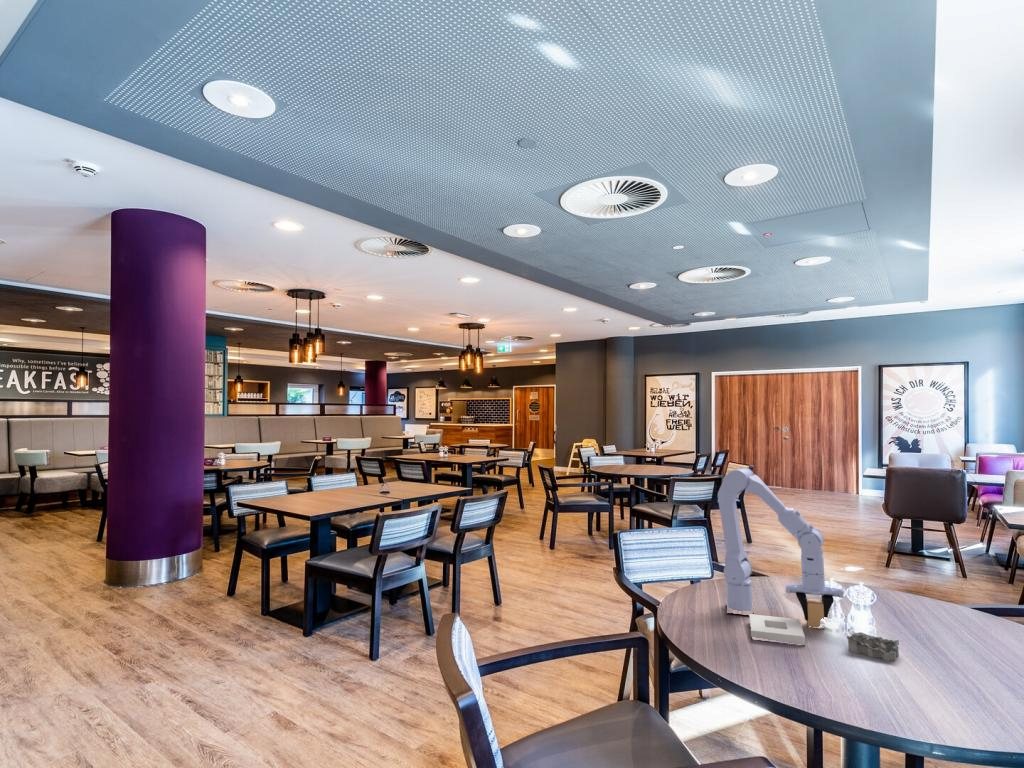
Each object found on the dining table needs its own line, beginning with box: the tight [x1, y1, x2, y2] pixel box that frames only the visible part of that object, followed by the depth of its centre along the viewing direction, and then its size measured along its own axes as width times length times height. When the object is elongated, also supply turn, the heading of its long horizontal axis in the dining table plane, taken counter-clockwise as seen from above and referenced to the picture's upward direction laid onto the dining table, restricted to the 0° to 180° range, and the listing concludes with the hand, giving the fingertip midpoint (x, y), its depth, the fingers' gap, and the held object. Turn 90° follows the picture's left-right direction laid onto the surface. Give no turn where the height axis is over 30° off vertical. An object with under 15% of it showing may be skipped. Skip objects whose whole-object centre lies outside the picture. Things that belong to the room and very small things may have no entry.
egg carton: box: [846, 632, 900, 662], centre depth 140 cm, size 11×8×4 cm
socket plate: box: [748, 613, 806, 646], centre depth 153 cm, size 13×13×2 cm
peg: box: [806, 598, 824, 627], centre depth 158 cm, size 4×4×7 cm
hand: (815, 620), depth 158 cm, fingers closed on peg, 4 cm apart
